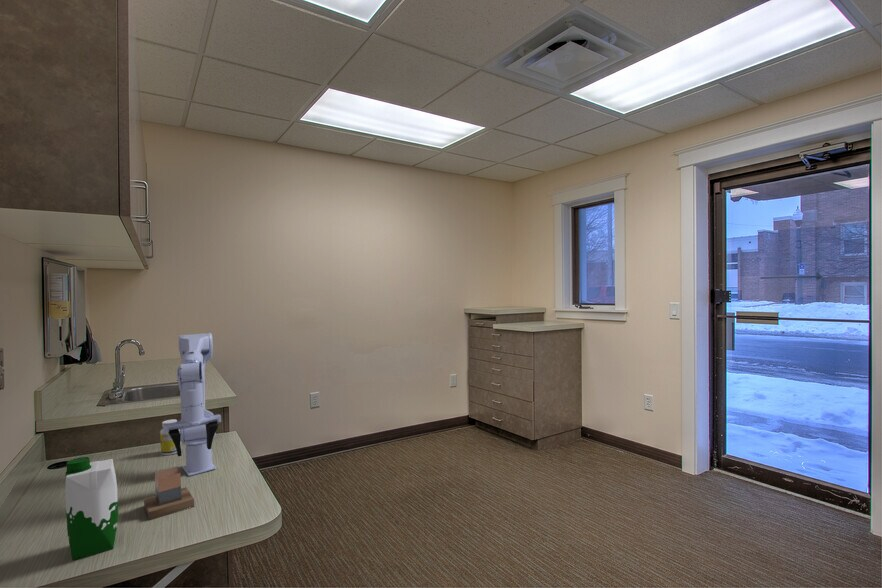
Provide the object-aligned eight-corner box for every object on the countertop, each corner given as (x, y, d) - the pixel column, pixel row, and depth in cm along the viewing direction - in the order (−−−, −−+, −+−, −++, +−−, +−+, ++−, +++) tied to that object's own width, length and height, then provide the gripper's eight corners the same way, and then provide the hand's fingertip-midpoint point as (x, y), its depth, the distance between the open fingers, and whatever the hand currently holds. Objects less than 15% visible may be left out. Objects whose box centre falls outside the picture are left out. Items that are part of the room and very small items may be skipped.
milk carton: (71, 545, 103) (66, 457, 103) (120, 532, 108) (116, 448, 108) (66, 564, 95) (61, 469, 95) (119, 549, 101) (114, 458, 100)
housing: (159, 506, 116) (158, 478, 116) (155, 498, 121) (154, 472, 121) (181, 499, 120) (180, 472, 119) (177, 492, 124) (176, 466, 124)
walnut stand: (144, 506, 121) (143, 498, 121) (186, 494, 127) (186, 487, 127) (149, 520, 113) (149, 512, 113) (194, 506, 120) (193, 499, 120)
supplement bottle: (165, 450, 166) (163, 419, 166) (184, 448, 167) (182, 417, 167) (158, 456, 160) (156, 424, 160) (177, 454, 161) (175, 422, 161)
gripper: (165, 412, 124) (167, 462, 124) (223, 402, 133) (225, 448, 133) (161, 407, 129) (163, 455, 129) (216, 398, 138) (219, 443, 138)
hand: (194, 451), depth 131 cm, fingers open, 7 cm apart
